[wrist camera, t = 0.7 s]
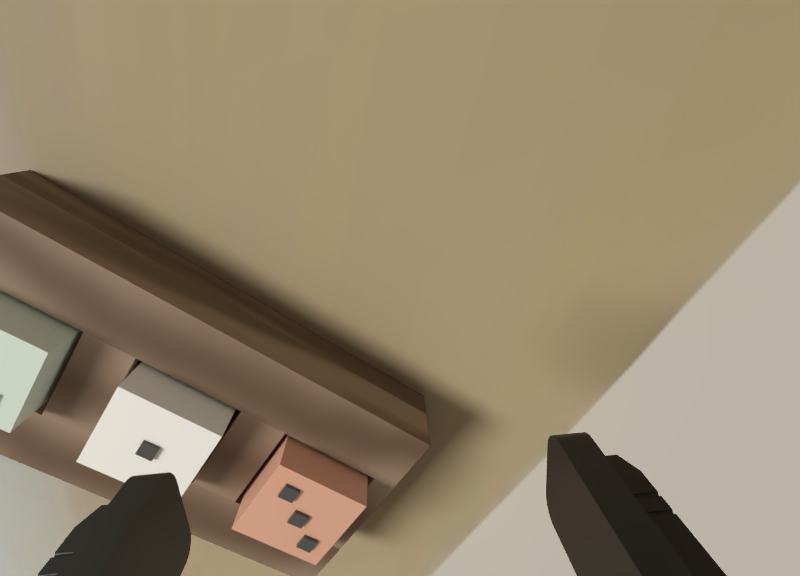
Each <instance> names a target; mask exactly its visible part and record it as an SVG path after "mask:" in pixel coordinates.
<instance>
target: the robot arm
mask: <svg viewBox="0 0 800 576" xmlns="http://www.w3.org/2000/svg"><path fill="white" fill-rule="evenodd" d="M546 498H547V505H548V510H549V514H550V517H551V520H552V523H553V525H554V528H555V530H556V532H557V534H558V536H559V538H560V540H561V543H562V545H563V547H564V549H565V551H566V553H567V555H568V557H569V559H570V562H571V564H572V566H573V568H574V570H575V572H576V574H577V576H726V575H725V573H724V572H723V571H722V570H721V569H720V567H719V566H718V565H717V564H716V562H715V561H714V560H713V559H712V557H711V556H710V555H709V554H708V553H707V551H706V550H705V549H704V548H703V546H702V545H701V544H700V543H699V542H698V540H697V539H696V538H695V537H694V536H693V534H692V533H691V532H690V531H689V529H688V528H687V527H686V526H685V525H684V523H683V522H682V521H681V520H680V518H679V517H678V516H677V515H676V514H673V512H672V509H671V508H670V506H669V505H668V504H667V503H666V501H665V500H664V499H663V498H662V496H659V495H658V492H657V490H656V489H655V488H654V487H653V486H652V484H651V483H650V482H649V481H648V479H647V478H646V477H645V476H644V474H643V473H642V472H641V471H640V470H638V469H637V468H635V467H634V466H633V465H631V464H630V463H628V462H627V461H625V460H624V459H622V458H621V457H619V456H618V455H611V456H605V455H604V454H603V452H602V451H601V450H600V448H599V447H598V446H597V444H596V443H595V442H594V440H593V439H592V438H591V437H590V435H589V434H587V433H585V432H584V433H573V434H563V435H553V436H550V437H549V440H548V452H547V482H546ZM190 544H191V532H190V526H189V523H188V519H187V516H186V512H185V508H184V505H183V501H182V498H181V494H180V491H179V487H178V483H177V480H176V478H175V476H174V475H173V474H172V473H170V472H167V473H157V474H147V475H137V476H132V477H130V478H129V479H127V481H126V482H125V483H124V484H123V486H122V487H121V488H120V490H119V491H118V492H117V494H116V495H115V497H114V498H113V499H112V501H111V502H110V503H109V505H101V506H100V507H99V508H98V509H97V510H95V511H94V512H93V513H92V514H90V515H89V516H88V517H87V518H86V519H84V520H83V521H82V522H81V523H80V524H78V525H77V526H76V527H75V528H74V529H73V530H72V532H71V533H70V534H69V535H68V537H67V538H66V539H65V540H64V542H63V543H62V544H61V546H60V547H59V548H58V549H57V551H56V552H55V556H54V558H50V560H49V561H48V562H47V563H46V565H45V566H44V567H43V569H42V570H41V571H40V572H39V574H38V576H180V575H181V573H182V571H183V569H184V566H185V564H186V562H187V559H188V555H189V551H190Z"/></svg>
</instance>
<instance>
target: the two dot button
mask: <svg viewBox="0 0 800 576" xmlns="http://www.w3.org/2000/svg"><path fill="white" fill-rule="evenodd" d="M82 334H83V332H82V331H80V330H78V329H76V328H74V327H72V326H70V325H68V324H66V323H65V322H63V321H61V320H59V319H57V318H55V317H53V316H51V315H49V314H47V313H45V312H43V311H41V310H39V309H37V308H35V307H33V306H31V305H29V304H27V303H25V302H23V301H21V300H19V299H17V298H15V297H13V296H11V295H9V294H7V293H5V292H3V291H1V290H0V429H1V430H4V431H6V432H8V433H11V432H12V431H13V430H14V429H15V428H16V427H18V426H19V425H20V424H21V423H22V422H23V421H25V420H26V419H27V418H28V417H29V416H30V415H32V414H33V413H34V412H35V411H36V410H37V409H39V408H40V407H41V406H42V405H43V404H44V403H46V402H47V401H48V400H49V399H50V398H51V396H52V394H53V392H54V390H55V388H56V386H57V384H58V382H59V380H60V378H61V376H62V374H63V372H64V370H65V368H66V366H67V364H68V362H69V360H70V358H71V356H72V354H73V352H74V350H75V348H76V346H77V344H78V342H79V340H80V338H81V336H82Z"/></svg>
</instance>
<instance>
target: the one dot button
mask: <svg viewBox="0 0 800 576" xmlns="http://www.w3.org/2000/svg"><path fill="white" fill-rule="evenodd" d="M235 410H236V409H235V408H233V407H231V406H229V405H227V404H225V403H223V402H221V401H219V400H217V399H215V398H213V397H211V396H209V395H207V394H205V393H204V392H202V391H200V390H198V389H196V388H194V387H192V386H190V385H188V384H186V383H184V382H182V381H180V380H178V379H176V378H174V377H172V376H170V375H168V374H166V373H164V372H162V371H160V370H158V369H156V368H154V367H152V366H150V365H148V364H146V363H144V362H141V363H140V364H139V365H138V366H137V367H136V368H135V369H134V370H133V371H132V372H131V373H130V375H129V376H128V377H127V378H126V379H125V380H124V381H123V382H122V383H121V384H120V385H119V386H118V387H117V389H116V391H115V393H114V394H113V396H112V398H111V400H110V402H109V403H108V405H107V407H106V409H105V411H104V412H103V414H102V416H101V418H100V420H99V421H98V423H97V425H96V427H95V429H94V430H93V432H92V434H91V436H90V438H89V439H88V441H87V443H86V445H85V447H84V449H83V450H82V452H81V454H80V456H79V458H78V459H77V461H76V462H78V463H80V464H82V465H85V466H87V467H89V468H92V469H94V470H96V471H98V472H101V473H103V474H105V475H108V476H110V477H112V478H115V479H117V480H119V481H122V482H124V483H125V482H126V481H127V479H129V478H130V477H132V476H137V475H147V474H157V473H167V472H170V473H172V474H173V475H174V476H175V478H176V480H177V483H178V487H179V491H180V494H181V497H182V495H183V494H184V492H185V491H186V489H187V488H188V486H189V485H190V483H191V482H192V480H193V479H194V477H195V476H196V475H197V473H198V472H199V470H200V469H201V467H202V466H203V464H204V463H205V461H206V460H207V458H208V457H209V455H210V454H211V452H212V451H213V449H214V448H215V447H216V445H217V444H218V442H219V441H220V439H221V438H222V436H223V434H224V432H225V430H226V428H227V426H228V424H229V422H230V420H231V418H232V416H233V414H234V412H235Z"/></svg>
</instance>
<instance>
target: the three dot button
mask: <svg viewBox="0 0 800 576" xmlns="http://www.w3.org/2000/svg"><path fill="white" fill-rule="evenodd" d="M367 485H368V475H366V474H364V473H362V472H360V471H358V470H356V469H354V468H352V467H350V466H348V465H346V464H344V463H342V462H341V461H339V460H337V459H335V458H333V457H331V456H329V455H327V454H325V453H323V452H321V451H319V450H317V449H315V448H313V447H311V446H309V445H307V444H305V443H303V442H301V441H299V440H297V439H295V438H293V437H291V436H289V435H287V434H284V436H283V437H282V439H281V440H280V441H279V443H278V444H277V445H276V447H275V448H274V449H273V451H272V452H271V454H270V455H269V456H268V458H267V459H266V460H265V462H264V463H263V464H262V466H261V467H260V468H259V470H258V471H257V473H256V474H255V475H254V477H253V478H252V479H251V481H250V482H249V483H248V485H247V487H246V490H245V493H244V496H243V498H242V501H241V504H240V507H239V509H238V512H237V515H236V518H235V521H234V523H233V526H232V529H233V530H235V531H237V532H240V533H242V534H244V535H247V536H249V537H251V538H254V539H256V540H258V541H261V542H263V543H265V544H267V545H270V546H272V547H274V548H277V549H279V550H281V551H284V552H286V553H288V554H291V555H293V556H295V557H298V558H300V559H302V560H304V561H307V562H309V563H311V564H314V565H316V564H317V563H318V562H319V561H320V560H321V559H322V557H323V556H324V555H325V554H326V553H327V552H328V551H329V549H330V548H331V547H332V546H333V545H334V544H335V543H336V541H337V540H338V539H339V538H340V537H341V536H342V534H343V533H344V532H345V531H346V530H347V529H348V528H349V526H350V525H351V524H352V523H353V522H354V521H355V519H356V518H357V517H358V516H359V515H360V514H361V513H362V511H363V510H364V509H365V508H366V507H367Z"/></svg>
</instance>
